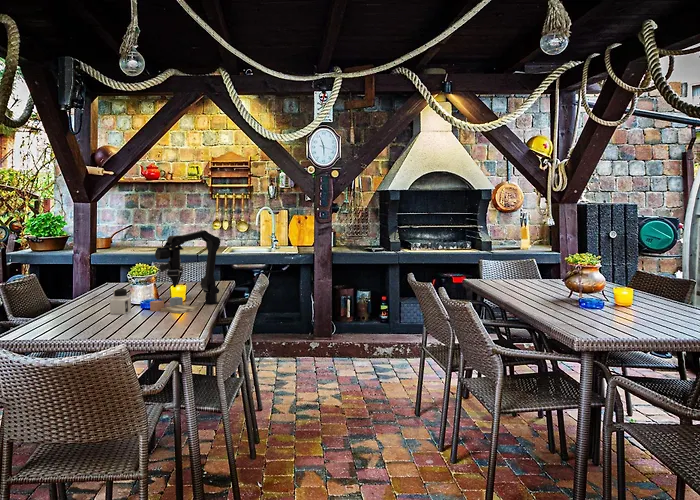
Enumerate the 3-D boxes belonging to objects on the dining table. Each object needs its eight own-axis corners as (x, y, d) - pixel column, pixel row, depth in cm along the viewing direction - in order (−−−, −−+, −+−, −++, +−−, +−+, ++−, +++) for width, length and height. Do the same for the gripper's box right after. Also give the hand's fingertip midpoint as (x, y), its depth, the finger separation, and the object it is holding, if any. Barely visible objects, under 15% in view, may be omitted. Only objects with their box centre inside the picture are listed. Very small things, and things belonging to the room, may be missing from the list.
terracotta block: (157, 309, 304) (157, 300, 304) (163, 310, 302) (163, 301, 301) (150, 310, 300) (150, 301, 299) (156, 311, 297) (156, 302, 297)
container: (131, 311, 296) (130, 288, 295) (123, 314, 288) (123, 290, 287) (117, 311, 297) (116, 287, 296) (110, 314, 289) (109, 289, 288)
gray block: (176, 305, 316) (176, 296, 316) (182, 306, 314) (182, 297, 313) (169, 306, 312) (169, 298, 311) (176, 307, 309) (176, 298, 309)
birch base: (180, 307, 310) (180, 304, 310) (198, 309, 304) (198, 306, 303) (161, 311, 298) (160, 308, 298) (179, 313, 291) (179, 310, 291)
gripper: (162, 256, 311) (163, 283, 313) (156, 260, 293) (157, 289, 295) (182, 256, 313) (183, 283, 315) (178, 260, 295) (179, 288, 296)
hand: (176, 286), depth 305 cm, fingers open, 9 cm apart
